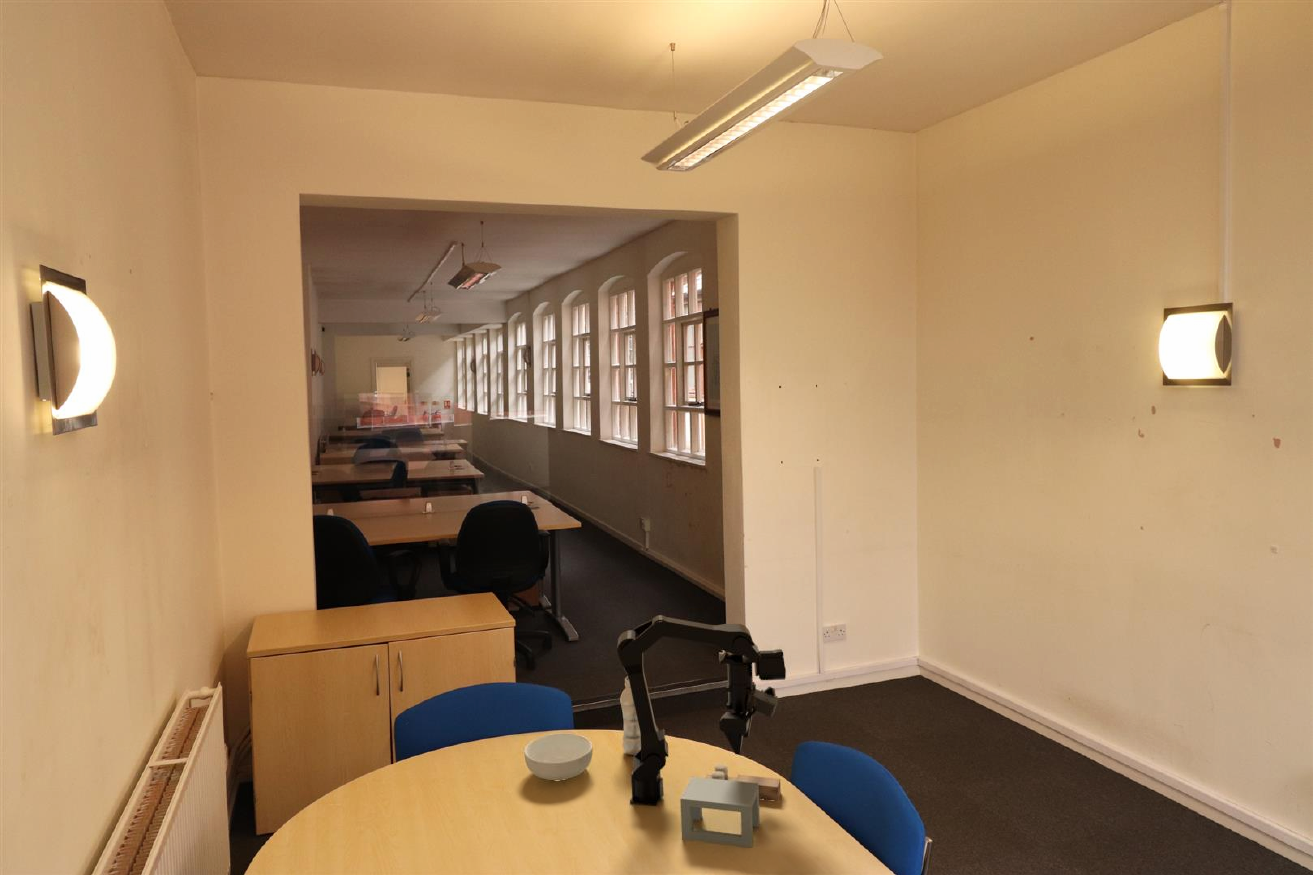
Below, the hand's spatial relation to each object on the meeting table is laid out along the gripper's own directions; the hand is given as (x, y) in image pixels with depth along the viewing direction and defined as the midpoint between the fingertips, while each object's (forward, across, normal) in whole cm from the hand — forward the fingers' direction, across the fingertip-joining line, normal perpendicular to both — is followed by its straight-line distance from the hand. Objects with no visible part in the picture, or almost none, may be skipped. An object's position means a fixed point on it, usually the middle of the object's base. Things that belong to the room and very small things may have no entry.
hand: (741, 745), depth 202 cm
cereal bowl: (+12, 0, +46) cm, 48 cm away
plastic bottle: (+12, +15, +32) cm, 37 cm away
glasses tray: (+12, 0, +1) cm, 12 cm away
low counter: (+12, -17, +1) cm, 20 cm away
